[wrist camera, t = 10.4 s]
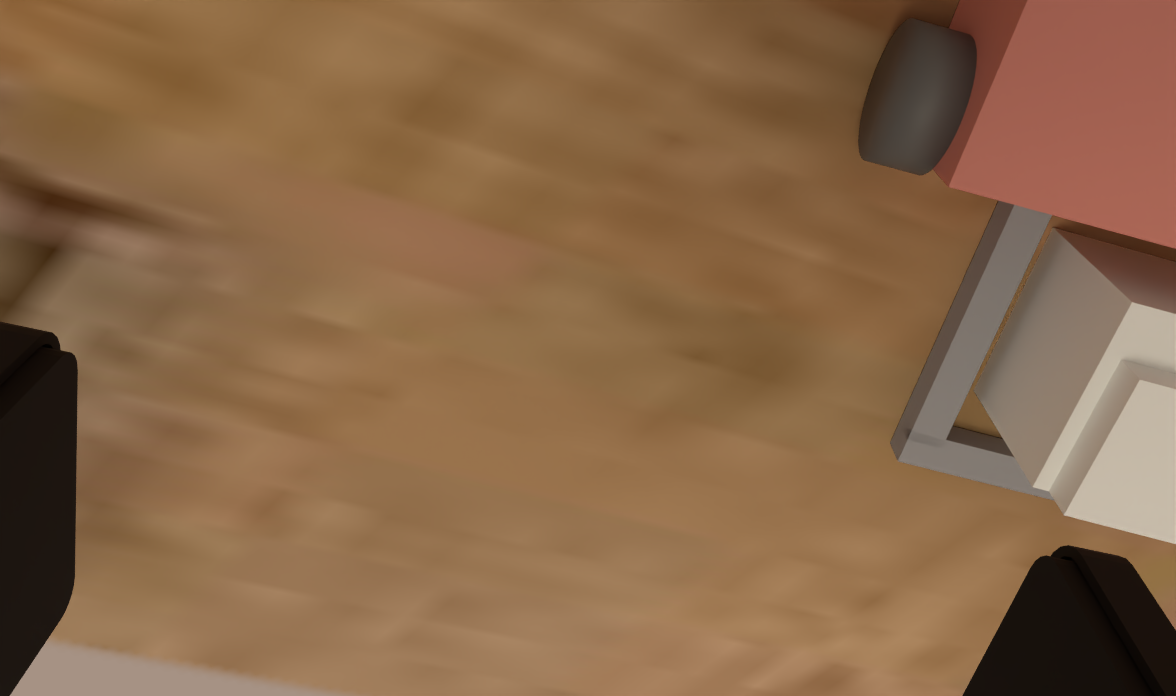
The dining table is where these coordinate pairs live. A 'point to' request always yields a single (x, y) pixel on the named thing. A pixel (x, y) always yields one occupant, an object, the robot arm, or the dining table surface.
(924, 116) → the pink toy truck
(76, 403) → the robot arm
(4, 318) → the dining table surface
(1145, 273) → the stepped cream block
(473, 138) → the dining table surface
